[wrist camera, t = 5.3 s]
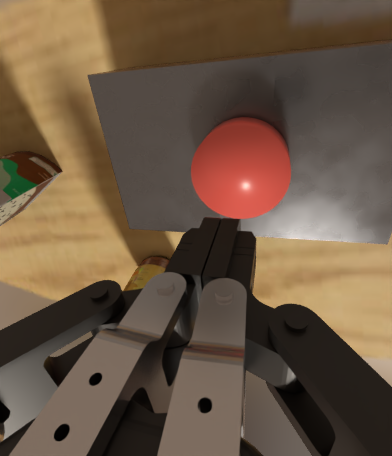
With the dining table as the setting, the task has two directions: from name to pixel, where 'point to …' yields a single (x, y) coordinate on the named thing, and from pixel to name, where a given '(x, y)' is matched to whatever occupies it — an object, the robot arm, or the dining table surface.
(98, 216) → the dining table surface
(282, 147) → the red button
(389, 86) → the console
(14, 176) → the food container
